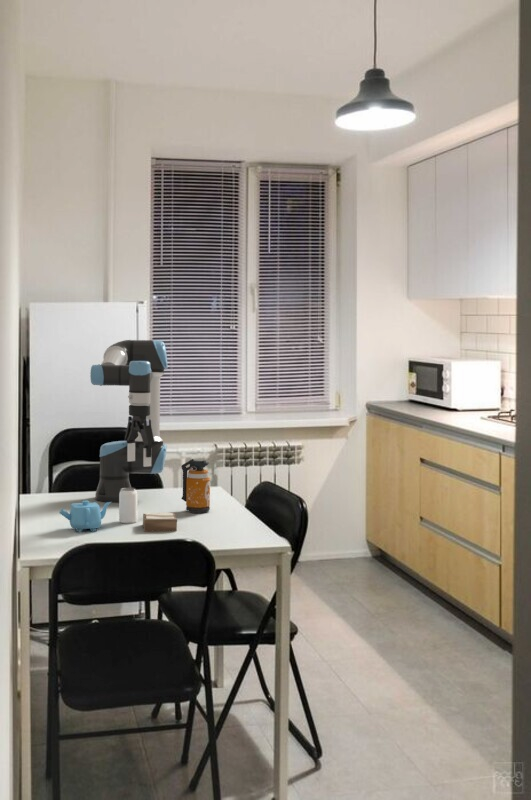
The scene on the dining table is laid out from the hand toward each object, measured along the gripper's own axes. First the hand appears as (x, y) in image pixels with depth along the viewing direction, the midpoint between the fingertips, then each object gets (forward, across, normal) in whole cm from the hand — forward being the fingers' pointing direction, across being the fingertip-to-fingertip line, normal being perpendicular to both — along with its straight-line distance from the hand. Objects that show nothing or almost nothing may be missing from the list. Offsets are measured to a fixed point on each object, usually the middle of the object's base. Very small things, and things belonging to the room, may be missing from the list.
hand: (139, 463), depth 322 cm
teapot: (+22, 0, -20) cm, 30 cm away
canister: (+22, -8, +27) cm, 36 cm away
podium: (+21, +11, +3) cm, 24 cm away
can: (+22, -3, -3) cm, 22 cm away
